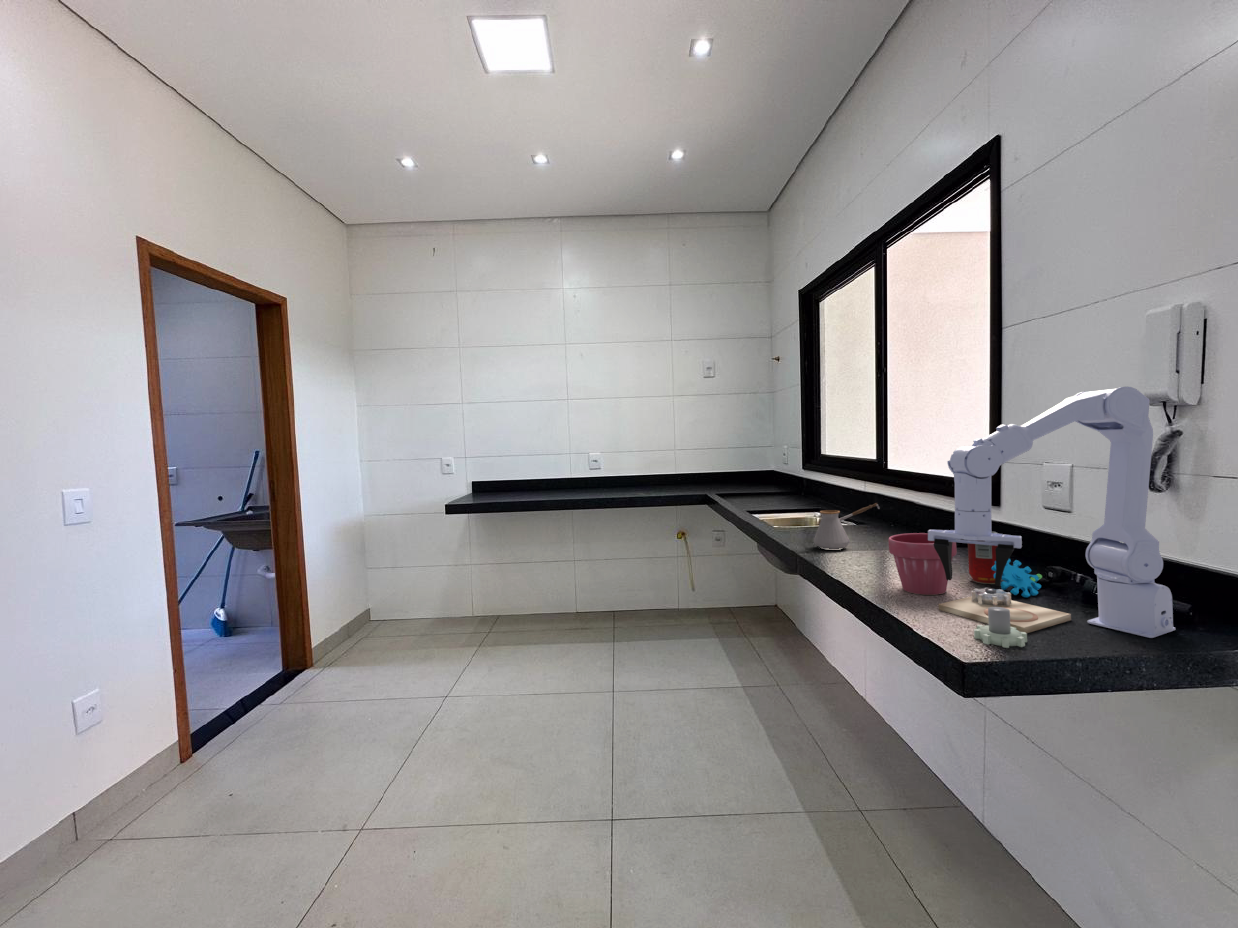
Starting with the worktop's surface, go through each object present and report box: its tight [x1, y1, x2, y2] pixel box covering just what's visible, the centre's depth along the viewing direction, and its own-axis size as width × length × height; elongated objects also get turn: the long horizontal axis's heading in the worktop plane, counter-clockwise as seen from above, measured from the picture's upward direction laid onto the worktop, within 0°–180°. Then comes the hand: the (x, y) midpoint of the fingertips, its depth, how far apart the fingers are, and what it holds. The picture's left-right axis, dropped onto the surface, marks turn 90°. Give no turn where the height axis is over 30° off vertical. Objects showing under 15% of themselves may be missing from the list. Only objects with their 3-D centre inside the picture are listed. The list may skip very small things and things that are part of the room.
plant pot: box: [888, 532, 958, 596], centre depth 127 cm, size 14×14×13 cm
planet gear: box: [973, 607, 1028, 649], centre depth 95 cm, size 8×8×6 cm
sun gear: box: [970, 587, 1012, 607], centre depth 113 cm, size 7×7×3 cm
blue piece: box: [991, 558, 1043, 599], centre depth 122 cm, size 11×6×10 cm
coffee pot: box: [813, 502, 881, 549], centre depth 178 cm, size 21×12×15 cm, turn 78°
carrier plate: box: [938, 595, 1072, 634], centre depth 108 cm, size 17×14×1 cm
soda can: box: [967, 530, 999, 585], centre depth 131 cm, size 7×7×12 cm
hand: (973, 581), depth 99 cm, fingers open, 7 cm apart
